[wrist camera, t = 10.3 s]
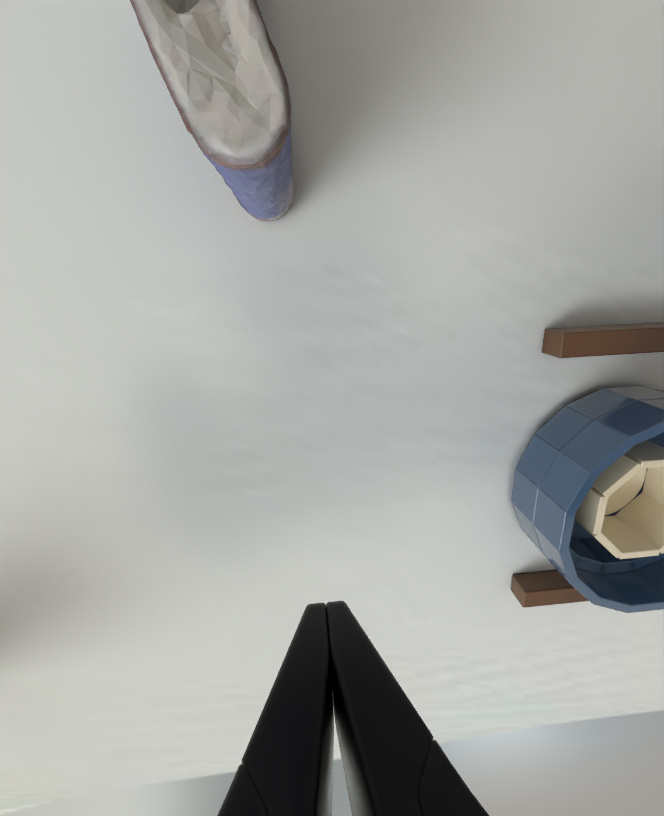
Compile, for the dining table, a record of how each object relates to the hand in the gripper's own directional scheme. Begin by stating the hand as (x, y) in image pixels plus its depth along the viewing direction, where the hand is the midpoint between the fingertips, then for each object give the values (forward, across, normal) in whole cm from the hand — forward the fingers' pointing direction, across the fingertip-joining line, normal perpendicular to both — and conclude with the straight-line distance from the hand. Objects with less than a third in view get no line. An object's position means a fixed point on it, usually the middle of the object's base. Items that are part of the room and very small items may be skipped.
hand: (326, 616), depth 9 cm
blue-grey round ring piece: (+12, -16, +4) cm, 21 cm away
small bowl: (+12, -16, +4) cm, 20 cm away
